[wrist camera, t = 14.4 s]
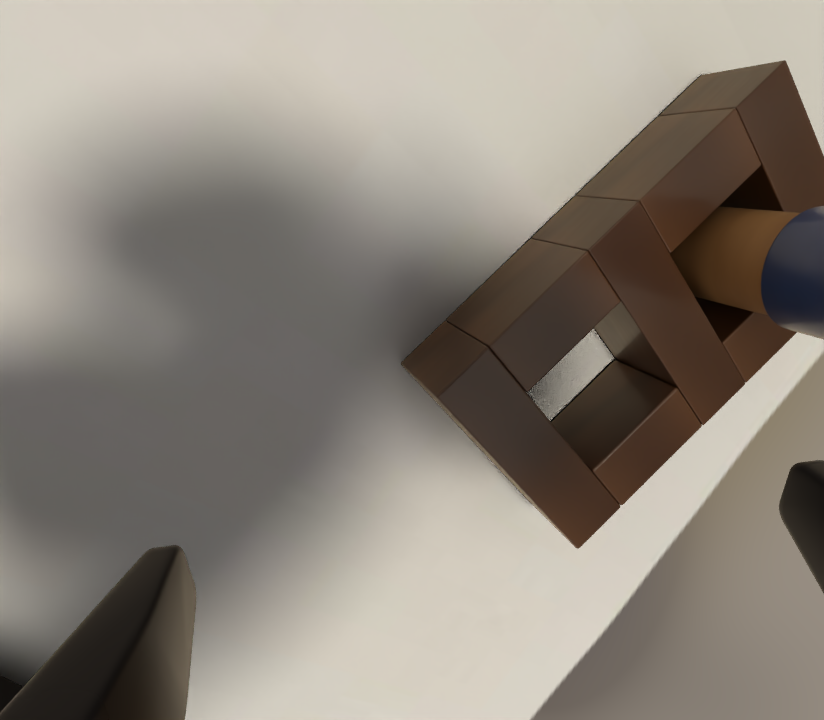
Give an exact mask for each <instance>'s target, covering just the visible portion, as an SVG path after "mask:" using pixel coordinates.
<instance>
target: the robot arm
mask: <svg viewBox="0 0 824 720" xmlns="http://www.w3.org/2000/svg"><path fill="white" fill-rule="evenodd" d="M779 510H780V515H781V518H782V520H783V522H784V524H785V526H786V528H787V529H788V531H789V533H790V535H791V536H792V538H793V540H794V542H795V543H796V545H797V547H798V549H799V550H800V552H801V554H802V556H803V557H804V559H805V561H806V563H807V565H808V566H809V568H810V570H811V572H812V573H813V575H814V577H815V579H816V581H817V582H818V584H819V586H820V587H821V589H822V591H823V593H824V461H823V460H816V461H808V462H801V463H797V464H795V465H794V466H793V467H792V468H791V469H790V472H789V475H788V478H787V481H786V484H785V487H784V490H783V493H782V497H781V500H780V504H779ZM195 610H196V588H195V583H194V580H193V577H192V574H191V572H190V569H189V566H188V563H187V560H186V557H185V554H184V552H183V550H182V548H181V547H180V546H177V545H172V546H164V547H157V548H152V549H149V550H148V551H147V552H145V553H144V554H143V556H142V557H141V558H140V559H139V560H138V561H137V562H136V563H135V564H134V566H133V567H132V568H131V569H130V570H129V571H128V572H127V573H126V574H125V575H124V577H123V578H122V579H121V580H120V581H119V582H118V583H117V584H116V585H115V587H114V588H113V589H112V590H111V591H110V592H109V593H108V594H107V595H106V596H105V598H104V599H103V600H102V601H101V602H100V603H99V604H98V605H97V606H96V608H95V609H94V610H93V611H92V612H91V613H90V614H89V615H88V616H87V617H86V619H85V620H84V621H83V622H82V623H81V624H80V625H79V626H78V627H77V629H76V630H75V631H74V632H73V633H72V634H71V635H70V636H69V637H68V638H67V640H66V641H65V642H64V643H63V644H62V645H61V646H60V647H59V648H58V650H57V651H56V652H55V653H54V654H53V655H52V656H51V657H50V658H49V659H48V661H47V662H46V663H45V664H44V665H43V666H42V667H41V668H40V669H39V671H38V672H37V673H36V674H35V675H34V676H33V677H32V678H31V679H30V680H29V682H28V683H27V684H26V685H25V686H24V687H23V686H21V685H19V684H17V683H15V682H13V681H11V680H9V679H7V678H4V677H2V676H0V720H185V714H186V706H187V697H188V687H189V676H190V665H191V654H192V643H193V632H194V621H195Z"/></svg>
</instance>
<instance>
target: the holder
mask: <svg viewBox="0 0 824 720" xmlns="http://www.w3.org/2000/svg"><path fill="white" fill-rule="evenodd" d="M818 206H824V156H823V153H822V151H821V148H820V145H819V143H818V140H817V138H816V135H815V133H814V130H813V128H812V125H811V123H810V120H809V118H808V115H807V113H806V110H805V108H804V105H803V103H802V100H801V98H800V95H799V93H798V90H797V88H796V85H795V83H794V80H793V78H792V75H791V73H790V70H789V68H788V65H787V63H786V61H779V62H773V63H767V64H762V65H756V66H750V67H745V68H739V69H733V70H728V71H722V72H716V73H711V74H705V75H701V76H700V77H699V78H698V79H697V80H696V81H695V82H694V83H693V84H691V85H690V86H689V87H688V88H687V89H686V90H685V91H684V92H683V93H682V94H681V95H680V96H679V97H678V98H677V99H676V100H675V101H674V102H673V103H672V104H671V105H670V106H669V107H667V108H666V109H665V110H664V111H663V112H662V113H661V114H660V115H659V117H657V118H656V119H655V120H654V121H653V122H652V123H651V124H650V125H649V126H648V127H647V128H645V129H644V130H643V131H642V132H641V133H640V134H639V135H638V136H637V137H636V138H635V139H634V140H633V141H632V142H631V143H630V144H629V145H628V146H627V147H626V148H625V149H624V150H623V151H621V152H620V153H619V154H618V155H617V156H616V157H615V158H614V159H613V160H612V161H611V162H610V163H609V164H608V165H607V166H606V167H605V168H604V169H603V170H602V171H601V172H600V173H598V174H597V175H596V176H595V177H594V178H593V179H592V180H591V181H590V182H589V183H588V184H587V185H586V186H585V187H584V188H583V189H582V190H581V191H580V192H579V193H578V194H577V195H576V196H575V197H573V198H572V199H571V200H570V201H569V202H568V203H567V204H566V205H565V206H564V207H563V208H562V209H561V210H560V211H559V212H558V213H557V214H556V215H555V216H553V217H552V218H551V219H550V220H549V221H548V222H547V223H546V224H545V225H544V226H543V227H542V228H541V229H540V230H539V231H538V232H537V233H536V234H535V235H534V236H533V237H532V239H530V240H529V241H528V242H527V243H525V244H524V245H523V246H522V247H521V248H520V249H519V250H518V251H517V252H516V253H515V254H514V255H513V256H512V257H511V258H510V259H509V260H508V261H507V262H506V263H505V264H504V265H502V266H501V267H500V268H499V269H498V270H497V271H496V272H495V273H494V274H493V275H492V276H491V277H490V278H489V279H488V280H487V281H486V282H485V283H484V284H483V285H482V286H481V287H480V288H478V289H477V290H476V291H475V292H474V293H473V294H472V295H471V296H470V297H469V298H468V299H467V300H466V301H465V302H464V303H463V304H462V305H461V306H460V307H459V308H458V309H457V310H455V311H454V312H453V313H452V314H451V315H450V316H449V317H448V318H447V319H446V321H447V322H446V321H445V322H443V323H442V324H441V325H440V326H439V327H438V328H437V329H436V330H435V331H434V332H433V333H432V334H431V335H430V336H429V337H428V338H426V339H425V340H424V341H423V342H422V343H421V344H420V345H419V346H418V347H417V348H416V349H415V350H414V351H413V352H412V353H411V354H410V355H409V356H408V357H407V358H406V359H405V360H403V361H402V363H401V365H402V366H403V367H404V368H405V369H406V370H407V371H408V373H409V374H410V375H411V376H412V377H413V378H414V379H415V380H416V381H417V382H418V383H419V384H420V385H421V386H422V388H423V389H424V390H425V391H426V392H427V393H428V394H429V395H430V396H431V397H432V398H433V399H434V400H435V401H436V402H437V404H438V405H439V406H440V407H441V408H442V409H443V410H444V411H445V412H446V413H447V414H448V415H449V416H450V417H451V418H452V420H453V421H454V422H455V423H456V424H457V425H458V426H459V427H460V428H461V429H462V430H463V431H464V432H465V433H466V435H467V436H468V437H469V438H470V439H471V440H472V441H473V442H474V443H475V444H476V445H477V446H478V447H479V448H480V449H481V451H482V452H483V453H484V454H485V455H486V456H487V457H488V458H489V459H490V460H491V461H492V462H493V463H494V464H495V465H496V467H497V468H498V469H499V470H500V471H501V472H502V473H503V474H504V475H505V476H506V477H507V478H508V479H509V480H510V482H511V483H512V484H513V485H514V486H515V487H516V488H517V489H518V490H519V491H520V492H521V493H522V494H523V495H524V496H525V498H526V499H527V500H528V501H529V502H530V503H531V504H532V505H533V506H534V507H535V508H536V509H537V510H538V511H539V512H540V513H541V514H542V515H543V516H544V517H545V518H546V519H547V520H548V521H549V522H550V523H551V524H552V525H553V526H554V527H555V528H556V529H557V530H558V531H559V532H561V533H562V534H563V535H564V536H565V537H566V538H567V539H568V540H569V541H570V542H571V543H572V544H573V545H574V546H575V547H576V548H580V547H581V546H582V545H583V544H584V543H585V542H586V541H587V540H588V539H589V538H590V537H591V536H592V535H593V534H594V533H595V532H596V531H597V530H598V529H599V528H600V527H601V526H602V525H603V524H604V523H605V522H606V521H607V520H608V519H609V518H610V517H611V516H612V515H613V514H614V513H615V512H616V511H617V510H618V509H619V508H620V505H623V504H624V503H625V502H626V501H627V500H628V499H629V498H630V497H631V496H632V495H633V494H634V493H635V492H636V491H637V490H638V489H639V488H640V487H641V486H642V485H643V484H644V483H645V482H646V481H647V480H648V479H649V478H650V477H651V476H652V475H653V474H654V473H655V472H656V471H657V470H658V469H659V468H660V467H661V466H662V465H663V464H664V463H665V462H666V461H667V460H668V459H669V458H670V457H671V456H672V455H673V454H674V453H675V452H676V451H677V450H678V449H679V448H680V447H681V446H682V445H683V444H684V443H685V442H686V441H687V440H688V439H689V438H690V437H691V436H692V435H693V434H694V433H695V432H696V431H697V430H698V429H699V428H700V427H701V426H702V425H704V424H705V423H706V422H707V421H708V420H709V419H710V418H711V417H712V416H713V415H714V414H715V413H716V412H717V411H718V410H719V409H720V408H721V407H722V406H723V405H724V404H725V403H726V402H727V401H728V400H729V399H730V398H731V397H732V396H733V395H734V394H735V393H736V392H738V391H739V390H740V389H741V388H742V387H743V386H744V385H745V382H747V381H748V380H749V379H750V378H751V377H752V376H753V375H754V374H755V373H756V372H757V371H758V370H759V369H760V368H761V367H762V366H763V365H764V364H765V363H766V362H767V361H768V360H769V359H770V358H771V357H772V356H773V355H774V354H775V353H776V352H777V351H779V350H780V349H781V348H782V347H783V346H784V345H785V344H786V343H787V342H788V341H789V340H790V339H791V338H792V337H793V336H794V335H795V334H796V333H797V332H795V331H792V330H788V329H785V328H782V327H780V326H779V325H777V324H776V323H775V322H774V321H773V320H772V319H771V318H770V317H769V316H767V315H764V314H760V313H756V312H752V311H748V310H744V309H740V308H737V307H733V306H729V305H725V304H721V303H717V302H714V301H710V300H706V299H702V298H698V297H694V295H693V293H692V291H691V290H690V288H689V286H688V284H687V283H686V281H685V279H684V278H683V276H682V274H681V272H680V271H679V269H678V267H677V266H676V264H675V262H674V260H673V259H672V257H671V255H670V254H669V253H671V252H672V251H673V250H674V249H675V248H676V247H677V246H678V245H679V244H681V243H682V242H683V241H684V240H685V239H686V238H687V237H688V236H689V235H690V234H691V233H692V232H693V231H694V230H695V229H696V228H697V227H698V226H699V225H700V224H701V223H702V222H703V221H704V220H705V219H706V218H707V217H708V216H709V215H710V214H711V213H712V212H713V211H714V210H715V209H717V208H718V207H732V208H744V209H757V210H770V211H783V212H796V213H801V212H804V211H806V210H808V209H810V208H814V207H818ZM593 328H595V330H596V331H597V332H598V334H599V335H600V337H601V338H602V340H603V341H604V342H605V344H606V345H607V347H608V348H609V350H610V351H611V352H612V354H613V355H614V357H615V358H616V359H617V360H614V361H613V362H612V363H611V364H610V365H609V366H608V367H607V368H606V369H605V370H604V371H603V372H602V373H601V374H600V375H599V376H598V377H597V378H596V379H595V380H594V381H593V382H592V383H591V384H590V385H589V386H588V387H587V388H586V389H585V390H584V391H583V392H582V393H581V394H579V395H578V396H577V397H576V398H575V399H574V400H573V401H572V402H571V403H570V404H569V405H568V406H567V407H566V408H565V409H564V410H563V411H562V412H561V413H560V414H559V415H558V416H557V417H556V418H555V419H554V420H553V421H552V422H550V420H549V419H548V418H547V417H546V416H545V414H544V413H543V412H542V411H541V410H540V408H539V407H538V406H537V405H536V403H535V402H534V401H533V400H532V399H531V397H530V396H529V395H528V394H527V393H526V392H528V391H529V390H530V389H531V388H532V387H533V386H534V385H535V384H536V383H537V382H538V381H539V380H540V379H541V378H543V377H544V376H545V375H546V374H547V373H548V372H549V371H550V370H551V369H552V368H553V367H554V366H555V365H556V364H557V363H558V362H559V361H560V360H561V359H562V358H563V357H564V356H565V355H566V354H567V353H568V352H569V351H570V350H571V349H572V348H573V347H574V346H575V345H576V344H578V343H579V342H580V341H581V340H582V339H583V338H584V337H585V336H586V335H587V334H588V333H589V332H590V331H591V330H592V329H593ZM701 424H702V425H701Z"/></svg>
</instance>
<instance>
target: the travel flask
mask: <svg viewBox="0 0 824 720" xmlns="http://www.w3.org/2000/svg"><path fill="white" fill-rule="evenodd" d="M669 254H670V255H671V257H672V259H673V260H674V262H675V264H676V266H677V267H678V269H679V271H680V272H681V274H682V276H683V278H684V279H685V281H686V283H687V284H688V286H689V288H690V290H691V291H692V293H693V295H694V297H698V298H702V299H706V300H710V301H714V302H717V303H721V304H725V305H729V306H733V307H737V308H740V309H744V310H748V311H752V312H756V313H760V314H764V315H767V316H769V317H770V318H771V319H772V320H773V321H774V322H775V323H776V324H777V325H779V326H780V327H782V328H785V329H788V330H792V331H795V332H799V333H802V334H806V335H810V336H813V337H817V338H821V339H824V206H818V207H814V208H810V209H808V210H806V211H804V212H801V213H796V212H783V211H770V210H757V209H744V208H732V207H718V208H717V209H715V210H714V211H713V212H712V213H711V214H710V215H709V216H708V217H707V218H706V219H705V220H704V221H703V222H702V223H701V224H700V225H699V226H698V227H697V228H696V229H695V230H694V231H693V232H692V233H691V234H690V235H689V236H688V237H687V238H686V239H685V240H684V241H683V242H682V243H681V244H679V245H678V246H677V247H676V248H675V249H674V250H673V251H672V252H671V253H669Z"/></svg>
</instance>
